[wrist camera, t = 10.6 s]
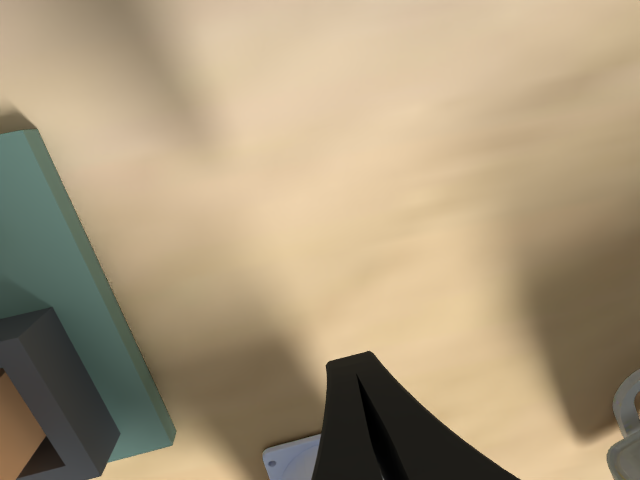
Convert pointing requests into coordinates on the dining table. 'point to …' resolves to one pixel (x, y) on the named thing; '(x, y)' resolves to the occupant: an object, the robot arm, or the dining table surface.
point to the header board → (66, 329)
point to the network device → (626, 432)
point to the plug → (16, 430)
